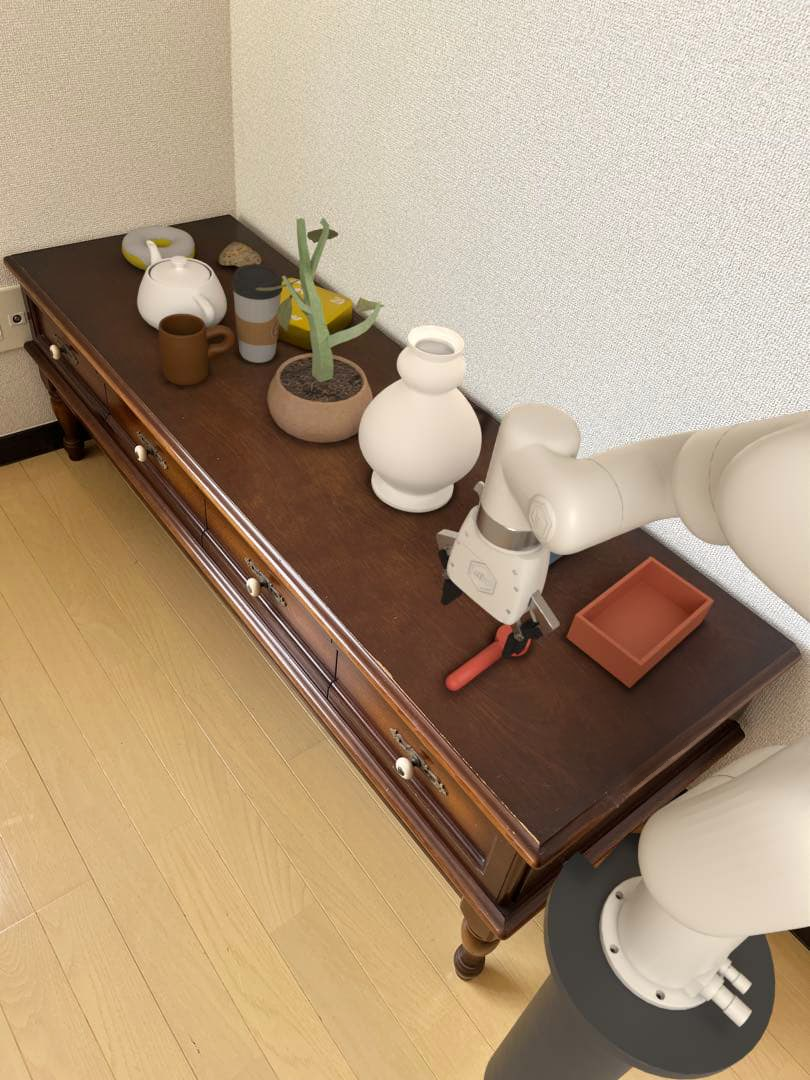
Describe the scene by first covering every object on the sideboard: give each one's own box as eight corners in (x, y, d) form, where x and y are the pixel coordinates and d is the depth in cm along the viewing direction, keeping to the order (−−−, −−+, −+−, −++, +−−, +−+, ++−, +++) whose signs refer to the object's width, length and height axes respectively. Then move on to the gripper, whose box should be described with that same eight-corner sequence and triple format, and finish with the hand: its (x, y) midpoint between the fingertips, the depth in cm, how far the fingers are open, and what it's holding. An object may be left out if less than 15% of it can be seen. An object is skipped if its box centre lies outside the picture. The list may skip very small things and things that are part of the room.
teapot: (253, 343, 148) (252, 279, 139) (171, 363, 140) (166, 298, 131) (190, 281, 161) (186, 219, 152) (113, 296, 153) (104, 233, 145)
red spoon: (459, 703, 97) (462, 693, 96) (433, 679, 99) (436, 669, 98) (535, 645, 105) (539, 635, 104) (510, 623, 107) (513, 614, 106)
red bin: (640, 578, 116) (650, 556, 113) (701, 622, 111) (714, 600, 108) (565, 637, 107) (575, 614, 103) (629, 688, 102) (641, 666, 99)
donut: (183, 241, 172) (181, 218, 169) (206, 272, 164) (204, 248, 161) (115, 249, 166) (112, 225, 163) (135, 281, 158) (133, 256, 155)
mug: (234, 361, 143) (232, 312, 136) (237, 386, 137) (235, 337, 131) (162, 362, 140) (157, 312, 133) (162, 388, 135) (157, 337, 128)
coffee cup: (273, 370, 142) (274, 291, 132) (227, 361, 142) (224, 280, 132) (287, 346, 148) (288, 268, 138) (242, 337, 148) (240, 258, 138)
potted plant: (396, 427, 135) (420, 253, 114) (304, 461, 126) (311, 279, 105) (320, 360, 146) (329, 191, 125) (230, 387, 137) (224, 209, 116)
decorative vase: (390, 538, 116) (413, 390, 98) (333, 464, 126) (344, 318, 109) (492, 505, 124) (529, 362, 106) (430, 437, 134) (455, 297, 116)
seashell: (247, 268, 162) (217, 241, 162) (238, 289, 167) (209, 262, 167) (272, 255, 168) (243, 228, 168) (263, 275, 172) (235, 249, 172)
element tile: (244, 326, 151) (244, 302, 148) (289, 295, 161) (289, 272, 158) (314, 354, 147) (315, 330, 144) (355, 320, 158) (357, 297, 154)
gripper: (427, 485, 84) (406, 594, 96) (556, 587, 76) (515, 691, 88) (477, 458, 88) (450, 566, 100) (603, 552, 81) (558, 656, 93)
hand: (480, 624), depth 94 cm, fingers open, 9 cm apart
